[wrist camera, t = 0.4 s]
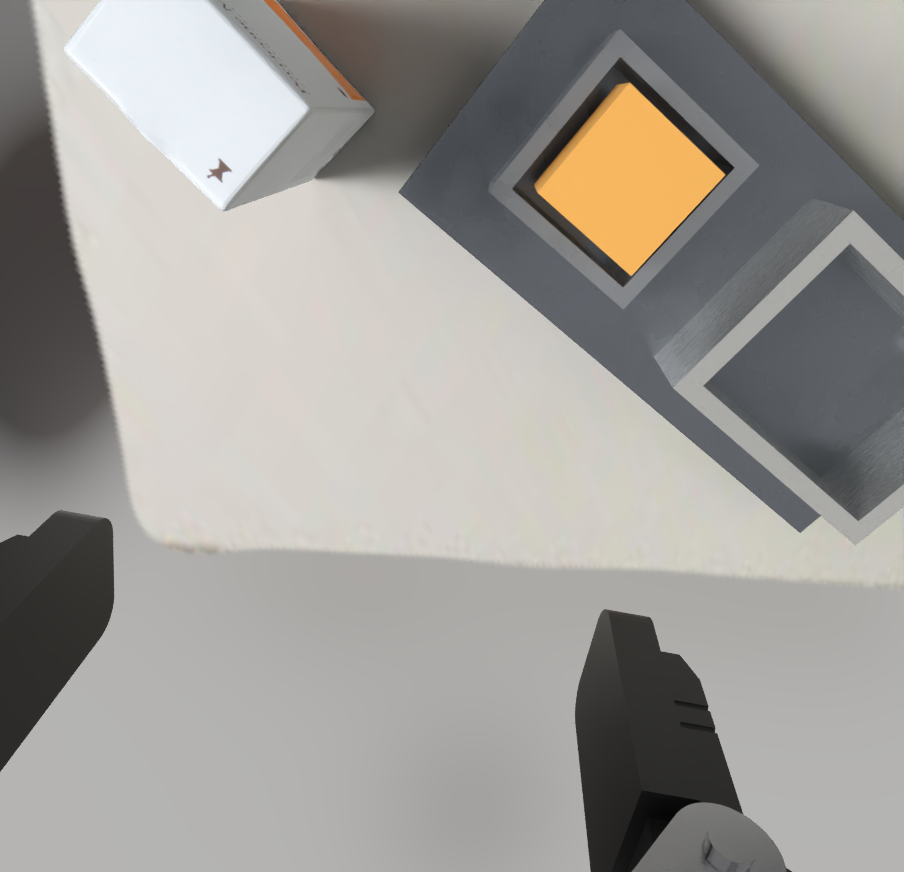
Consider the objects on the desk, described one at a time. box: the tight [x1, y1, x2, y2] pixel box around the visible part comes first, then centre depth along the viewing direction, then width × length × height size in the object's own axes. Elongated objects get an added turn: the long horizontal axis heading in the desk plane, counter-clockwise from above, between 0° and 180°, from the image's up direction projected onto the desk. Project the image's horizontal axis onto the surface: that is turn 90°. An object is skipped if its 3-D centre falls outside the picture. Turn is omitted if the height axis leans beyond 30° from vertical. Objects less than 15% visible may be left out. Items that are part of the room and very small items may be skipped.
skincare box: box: [64, 0, 374, 211], centre depth 27 cm, size 6×4×12 cm
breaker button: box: [534, 83, 725, 276], centre depth 27 cm, size 4×4×3 cm
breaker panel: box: [399, 0, 904, 545], centre depth 31 cm, size 12×24×6 cm, turn 51°
